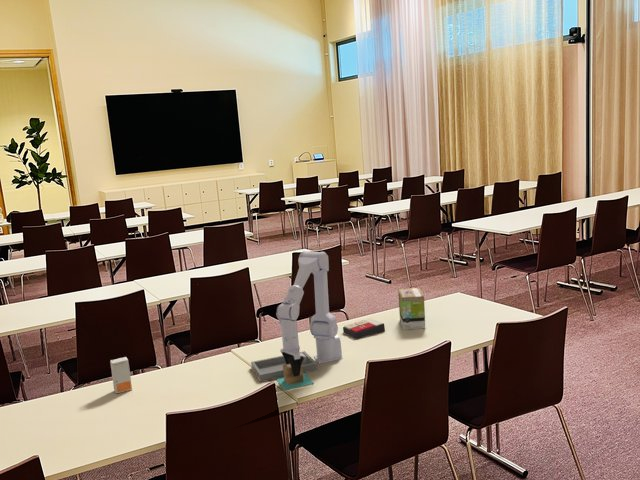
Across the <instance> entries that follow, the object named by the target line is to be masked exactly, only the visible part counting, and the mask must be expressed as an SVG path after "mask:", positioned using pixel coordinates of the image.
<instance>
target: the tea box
mask: <svg viewBox="0 0 640 480" xmlns="http://www.w3.org/2000/svg"><path fill="white" fill-rule="evenodd" d="M397 291H398V307H399V308H398V309H399V320H400V323H401V327H402V329H403V330H417V329H418V330H419V329H425V328H426V311H425V296H424V294H423V292H422V290H421V289H420V287H417V288H416V287H415V288H413V287H412V288H401V289H398V290H397Z"/></svg>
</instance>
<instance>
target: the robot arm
mask: <svg viewBox="0 0 640 480" xmlns="http://www.w3.org/2000/svg"><path fill="white" fill-rule="evenodd" d="M297 261H298V267H299V268H298V270H297V274H296V276H295V280H294V283H293V285H290V286H289V287H288V290H287V292H286V293H285V294H286V295H285V297H284V300H283V302H282V303H281V304H279V305H278V306H277V307H276V313H275V315H276V318H277V319H278V323H279V325H280V328H281V339H282V348H280V349H279V351H280V353H281V354H282V355H281V356H283V357H284V359H285V362H286V364H290V365H291V368H292V372H293V375H294V376H299V375H300V370H301V364H302V362H303V360H304V357H303V356H300V353H299V352H301V347H300V343H299V341H300V340H299V331H298V323H297V319H298V317H299V316H300V307H301V306H300V304H301V303H302V302H301V301H302V299H303V296H304V294H305V291H304V290H303V289H304V287H305V285H306V283H307V281H308V279H309V278H310V275H311V274H312V275H313V283H314V284H313V285H314V300H315V301H314V305H315V314H313V315H312V317H310V325H309V331H310V332H309V333H310V334H311V335H312V336H313V339H315V345H316V346H315V347H316V355H314V356H313V357H314V360H316V362H318V363H319V364H324V363H327V362H328V363H329V362H334V361H338V360H342V359H343V354H342V353H343V352H342V343H341V339H340V336H339V335H338V331H339V327H338V323H337V317H336V316H335V315H333V314H332V313H331V312H330V306H329V305H330V303H329V302H330V301H329V288H328V287H329V286H328V272H329V271H330V269H329V268H330V266H329V265H330V264H329V262H330V261H329V255H328V254H327V253H326V252H325V251H320V252H319V251H304V250H303V251H301V252H300V254H299V256H298V260H297Z"/></svg>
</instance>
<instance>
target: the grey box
mask: <svg viewBox="0 0 640 480" xmlns="http://www.w3.org/2000/svg"><path fill="white" fill-rule="evenodd" d="M300 356H303V357H304V360H303V362H302V364H301V365H306V364H307V360H306V356H305V355H304V354H303V353H300Z"/></svg>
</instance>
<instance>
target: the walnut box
mask: <svg viewBox="0 0 640 480" xmlns="http://www.w3.org/2000/svg"><path fill="white" fill-rule="evenodd" d="M283 373H284V381H285V382H286V383H287V385H289V384H294V383H299V382H303V381H304V380H303V369H302V365H301V370H300V375H299V376H294V375H293V372H292V368H291V365H290V364H285V365H283Z"/></svg>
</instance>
